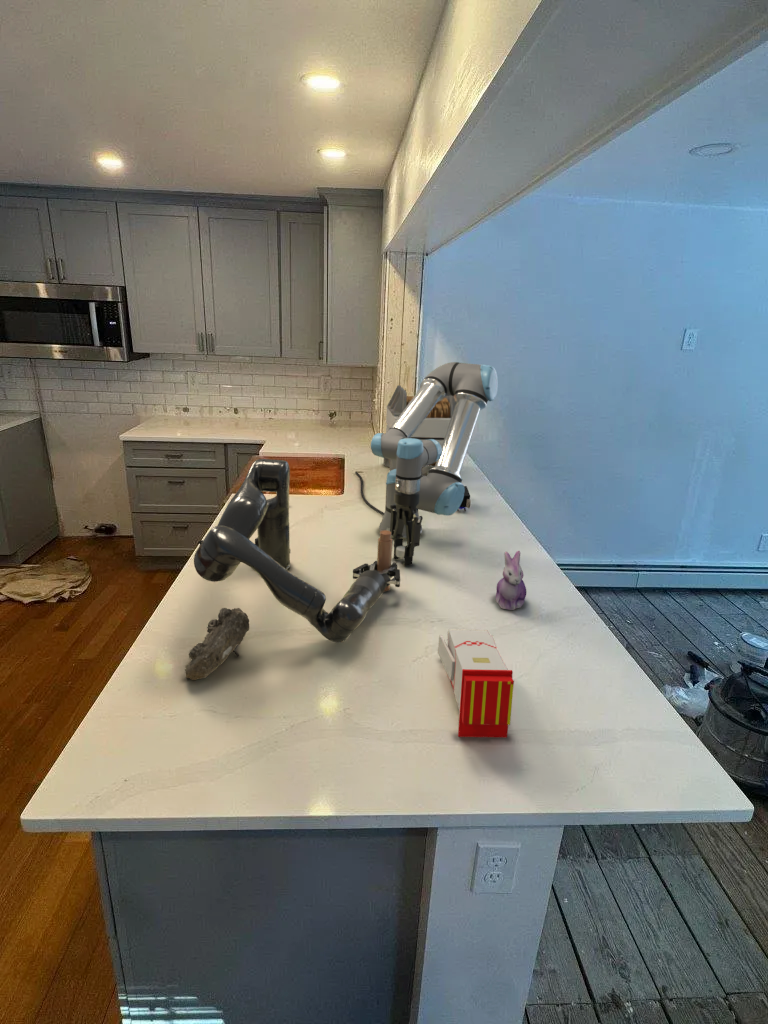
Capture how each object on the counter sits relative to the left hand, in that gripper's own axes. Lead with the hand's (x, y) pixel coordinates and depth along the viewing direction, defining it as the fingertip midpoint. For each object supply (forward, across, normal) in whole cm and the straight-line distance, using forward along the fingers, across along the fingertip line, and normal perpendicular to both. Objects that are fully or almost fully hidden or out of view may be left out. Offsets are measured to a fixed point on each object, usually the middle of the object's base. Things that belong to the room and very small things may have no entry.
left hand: (387, 564), depth 161 cm
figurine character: (+76, +7, -6) cm, 76 cm away
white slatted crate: (+118, -22, -6) cm, 120 cm away
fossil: (-47, -23, -6) cm, 53 cm away
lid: (+16, 0, -2) cm, 16 cm away
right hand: (+16, 0, -6) cm, 17 cm away
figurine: (+3, +35, -6) cm, 36 cm away
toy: (-40, +31, -6) cm, 51 cm away
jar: (-3, 0, -6) cm, 7 cm away
